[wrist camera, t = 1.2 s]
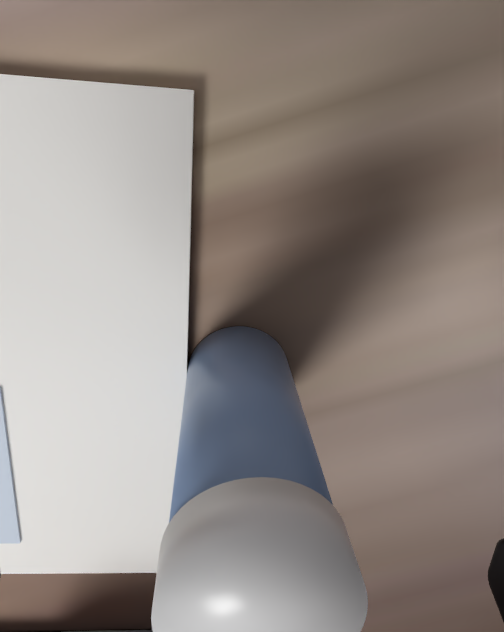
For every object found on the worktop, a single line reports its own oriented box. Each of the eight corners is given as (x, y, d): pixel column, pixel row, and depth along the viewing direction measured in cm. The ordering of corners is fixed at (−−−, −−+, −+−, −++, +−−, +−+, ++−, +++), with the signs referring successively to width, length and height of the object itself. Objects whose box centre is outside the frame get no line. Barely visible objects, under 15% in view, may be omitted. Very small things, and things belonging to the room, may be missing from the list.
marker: (296, 325, 15) (384, 532, 7) (286, 419, 16) (351, 685, 8) (185, 320, 14) (149, 532, 7) (183, 417, 16) (151, 691, 8)
